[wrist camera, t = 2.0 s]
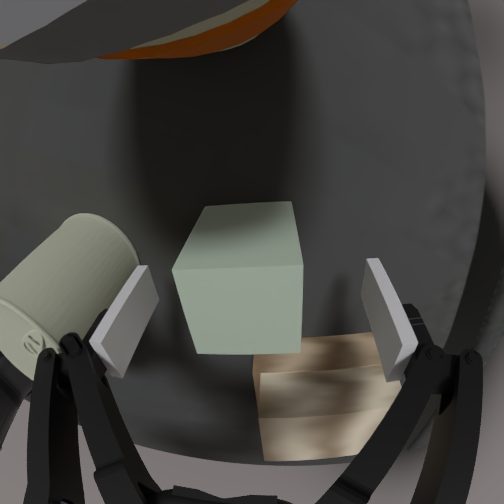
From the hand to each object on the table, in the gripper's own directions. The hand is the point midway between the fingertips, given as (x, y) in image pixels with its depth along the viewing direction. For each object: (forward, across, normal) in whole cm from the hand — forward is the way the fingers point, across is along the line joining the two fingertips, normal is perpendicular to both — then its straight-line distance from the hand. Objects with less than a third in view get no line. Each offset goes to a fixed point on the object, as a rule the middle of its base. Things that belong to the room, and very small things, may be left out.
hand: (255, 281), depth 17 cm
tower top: (+1, +6, -17) cm, 18 cm away
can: (+5, -15, -1) cm, 15 cm away
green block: (+5, -1, 0) cm, 5 cm away
